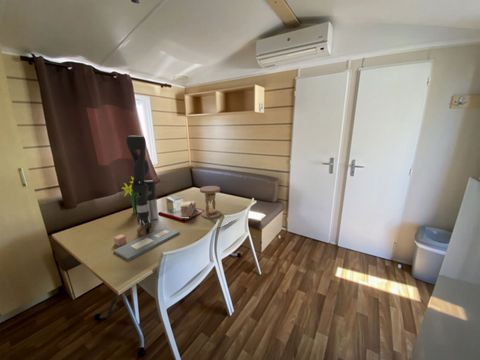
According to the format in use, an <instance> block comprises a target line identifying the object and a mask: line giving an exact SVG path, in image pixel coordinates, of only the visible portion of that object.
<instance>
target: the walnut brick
mask: <svg viewBox="0 0 480 360" xmlns="http://www.w3.org/2000/svg"><path fill="white" fill-rule="evenodd" d="M146 224H147V223H146ZM149 226H150V225H149ZM153 227H154V226H153V223H151V227H150V228H149V230H150V232H153V230H154V229H153ZM136 231H137V236H139V237H143V236H145V235H147V234H148V233H146V227H145V226H144V225H142V226H139V227H138V228H136Z"/></svg>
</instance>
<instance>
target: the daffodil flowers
mask: <svg viewBox="0 0 480 360" xmlns="http://www.w3.org/2000/svg"><path fill="white" fill-rule="evenodd" d="M130 178H131V180H132V181H129V183H130V185H129V186H128V185H127V183H126V182H123V184H124V186H125V187H121V189H122V190H124V192H125V194H124V195H123V197H126V196H127V194H128V195H129V198H130V202H131V205H132V213H133V216H134V215H136V214H137V203H136V198H137V197H138V196H140V193H134V192H133V191H132V184H133V179H134V176H132V175H131V176H130ZM139 183H140V181H139Z"/></svg>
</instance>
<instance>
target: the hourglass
mask: <svg viewBox="0 0 480 360" xmlns="http://www.w3.org/2000/svg"><path fill="white" fill-rule="evenodd" d="M199 192H200V193H202V194H204V196H205V200H204V201H205V203H206V204H205V205H206V206H205V210H204V211H202V212H201V213H200V217H201V218H202V217H203V218H202V219H205V220H214V219H218V218H219V217H221V215H222V213H221V211H220V210H218V209H216V200H215V199H216V194H217V193H219V192H221V188H220V187H219V186H217V185H205V186H201V187H200V188H199ZM209 203H210V204H212V208H210V207H209Z"/></svg>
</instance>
